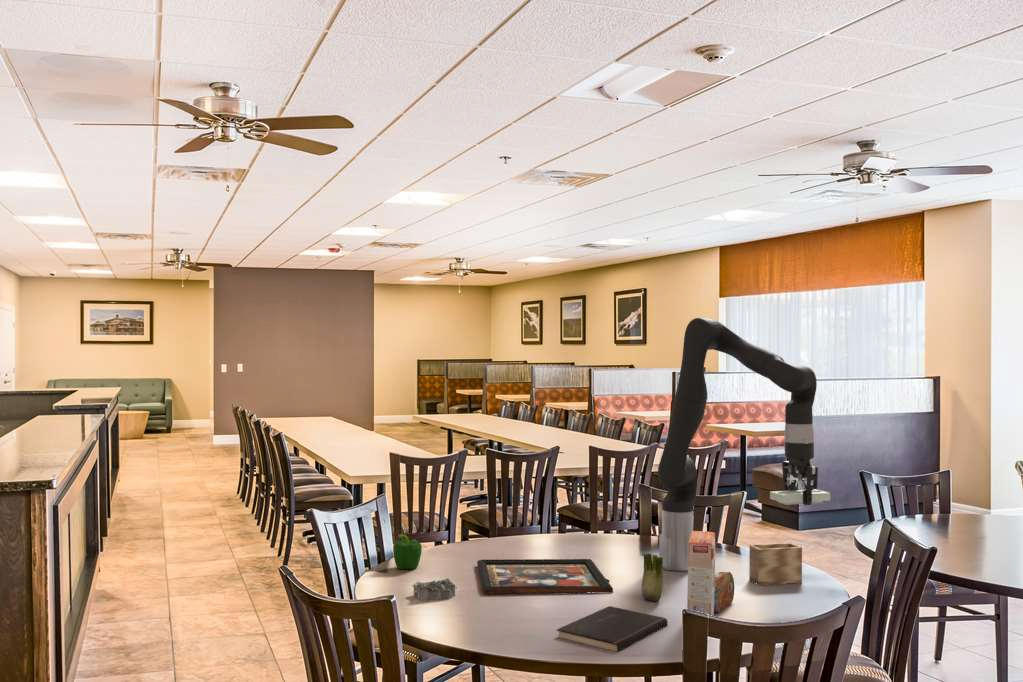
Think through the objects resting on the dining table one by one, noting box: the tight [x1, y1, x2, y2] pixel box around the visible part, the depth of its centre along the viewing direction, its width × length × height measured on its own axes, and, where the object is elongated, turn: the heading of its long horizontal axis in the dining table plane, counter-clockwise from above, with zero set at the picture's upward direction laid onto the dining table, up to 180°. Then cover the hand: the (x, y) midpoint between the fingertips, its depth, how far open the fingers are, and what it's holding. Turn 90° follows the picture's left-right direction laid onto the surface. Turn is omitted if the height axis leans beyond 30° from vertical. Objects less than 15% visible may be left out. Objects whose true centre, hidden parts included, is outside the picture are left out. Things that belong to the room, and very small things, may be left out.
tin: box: [714, 571, 735, 613], centre depth 223 cm, size 15×3×8 cm, turn 146°
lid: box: [769, 488, 831, 506], centre depth 237 cm, size 14×7×3 cm, turn 103°
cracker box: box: [686, 530, 716, 616], centre depth 210 cm, size 14×6×21 cm, turn 164°
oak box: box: [748, 542, 803, 586], centre depth 248 cm, size 13×6×10 cm, turn 102°
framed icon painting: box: [476, 558, 614, 596], centre depth 250 cm, size 38×35×3 cm
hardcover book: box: [556, 605, 668, 653], centre depth 204 cm, size 16×23×2 cm
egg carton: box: [411, 578, 458, 602], centre depth 232 cm, size 11×8×4 cm
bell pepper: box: [392, 533, 423, 570], centre depth 260 cm, size 8×8×10 cm
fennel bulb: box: [641, 553, 664, 602], centre depth 229 cm, size 6×5×12 cm
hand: (800, 502), depth 237 cm, fingers closed on lid, 6 cm apart
